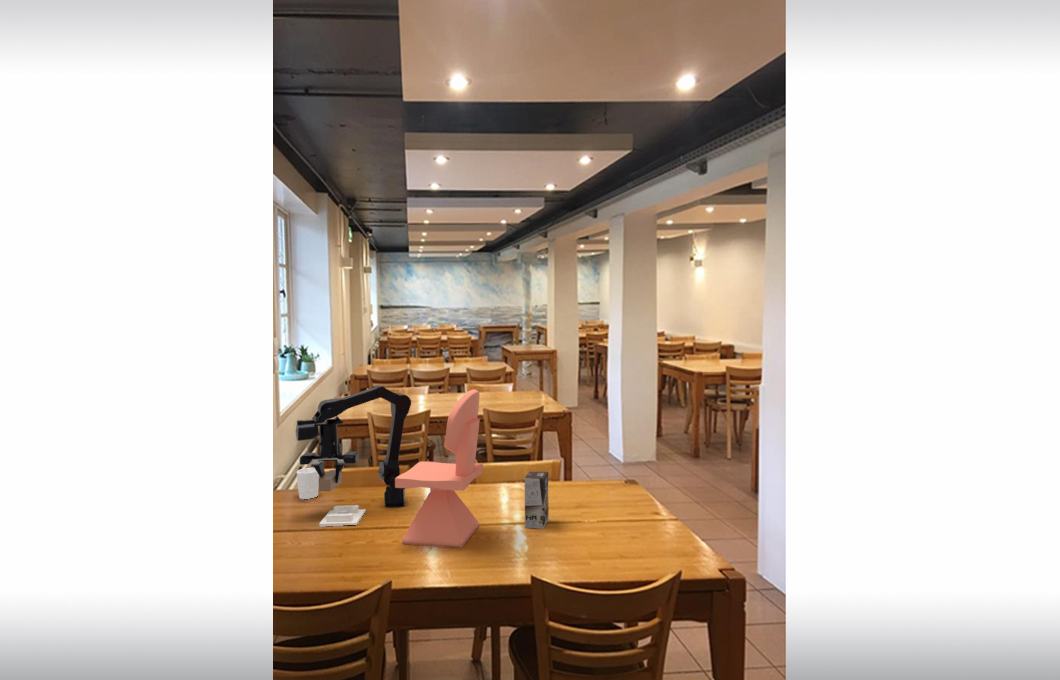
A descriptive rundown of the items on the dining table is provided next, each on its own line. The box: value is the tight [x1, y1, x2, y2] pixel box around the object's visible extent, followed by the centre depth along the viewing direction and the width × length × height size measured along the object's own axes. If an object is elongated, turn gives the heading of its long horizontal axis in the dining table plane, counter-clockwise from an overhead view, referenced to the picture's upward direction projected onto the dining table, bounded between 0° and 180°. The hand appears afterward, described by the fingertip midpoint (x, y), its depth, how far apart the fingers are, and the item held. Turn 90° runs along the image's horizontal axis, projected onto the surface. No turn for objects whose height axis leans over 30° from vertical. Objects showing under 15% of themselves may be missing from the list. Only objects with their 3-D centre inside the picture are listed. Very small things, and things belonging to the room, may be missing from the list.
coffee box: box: [524, 471, 550, 530], centre depth 212 cm, size 9×6×16 cm
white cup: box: [296, 467, 320, 500], centre depth 245 cm, size 8×8×10 cm
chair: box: [395, 388, 484, 549], centre depth 202 cm, size 27×22×45 cm
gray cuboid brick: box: [318, 469, 343, 492], centre depth 224 cm, size 12×4×4 cm, turn 179°
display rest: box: [318, 504, 366, 528], centre depth 219 cm, size 12×14×3 cm
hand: (330, 482), depth 224 cm, fingers closed on gray cuboid brick, 4 cm apart
